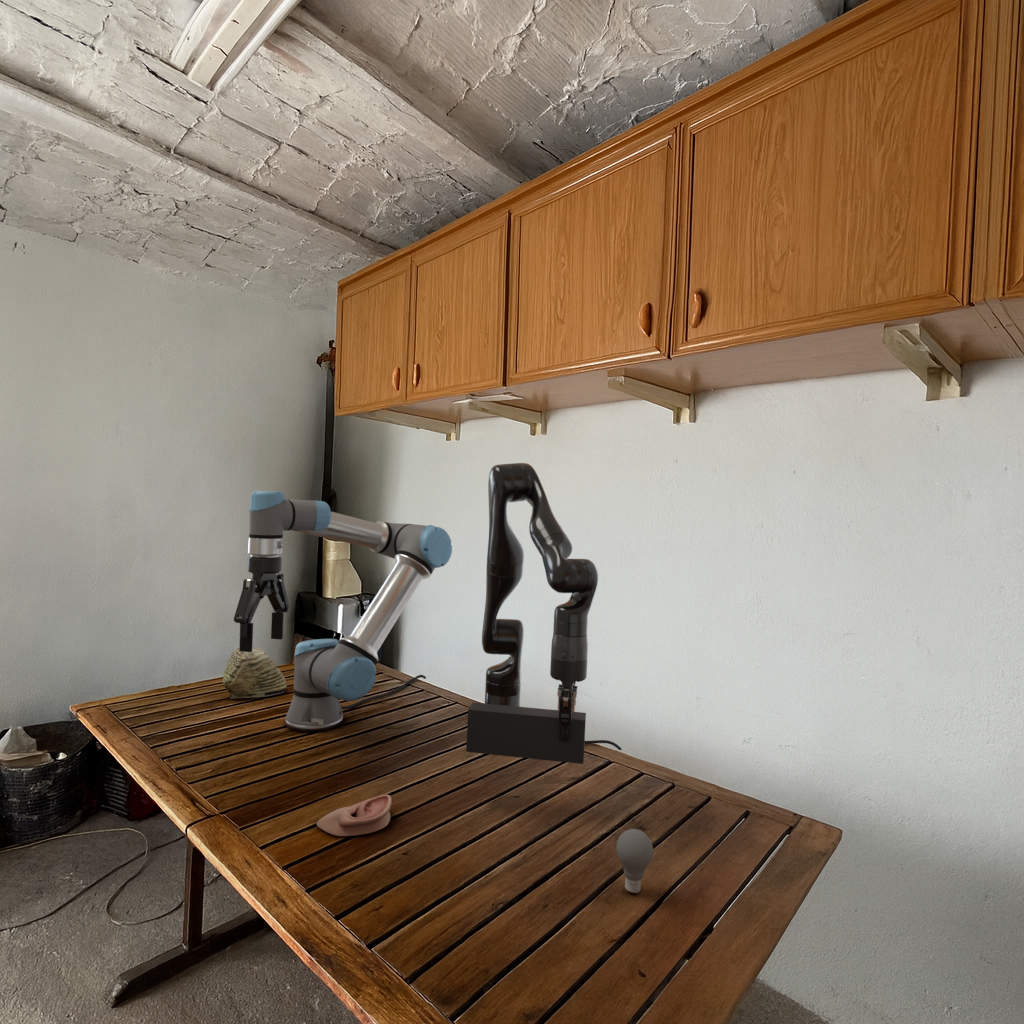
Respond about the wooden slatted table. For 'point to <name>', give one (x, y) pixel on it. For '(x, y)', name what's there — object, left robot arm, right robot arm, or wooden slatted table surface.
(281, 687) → the fossil
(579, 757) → the bar
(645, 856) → the light bulb
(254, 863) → the wooden slatted table surface
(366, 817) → the anatomical model
